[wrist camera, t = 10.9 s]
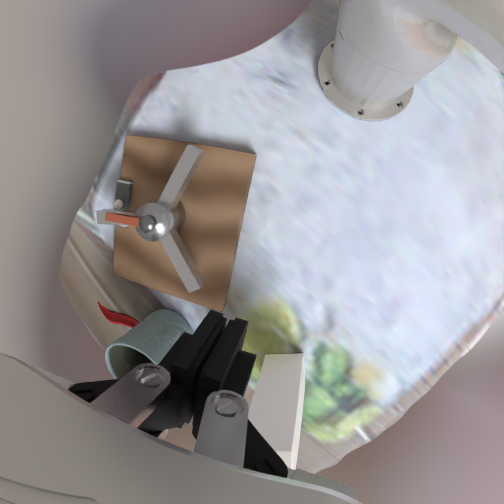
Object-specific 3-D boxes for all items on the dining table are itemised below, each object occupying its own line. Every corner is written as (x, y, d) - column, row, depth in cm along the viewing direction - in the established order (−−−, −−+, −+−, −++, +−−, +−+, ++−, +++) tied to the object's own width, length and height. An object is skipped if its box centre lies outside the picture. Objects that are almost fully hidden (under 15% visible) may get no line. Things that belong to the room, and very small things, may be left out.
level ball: (118, 198, 39) (112, 199, 38) (125, 199, 39) (119, 201, 38) (117, 207, 39) (111, 208, 38) (124, 209, 39) (118, 210, 38)
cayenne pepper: (95, 306, 49) (89, 310, 47) (101, 289, 48) (95, 293, 46) (143, 345, 49) (138, 350, 47) (151, 329, 48) (146, 335, 46)
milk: (265, 353, 44) (227, 469, 23) (304, 352, 42) (287, 473, 22) (269, 382, 45) (238, 493, 24) (306, 381, 44) (291, 497, 23)
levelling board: (132, 135, 38) (126, 134, 37) (256, 154, 36) (254, 154, 34) (118, 271, 45) (113, 274, 44) (224, 306, 43) (221, 311, 41)
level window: (120, 178, 39) (117, 178, 38) (132, 180, 38) (130, 181, 38) (115, 223, 41) (113, 224, 40) (127, 227, 41) (125, 228, 40)
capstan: (109, 209, 40) (80, 217, 34) (206, 142, 35) (184, 138, 29) (157, 300, 43) (136, 320, 36) (263, 253, 37) (253, 270, 31)
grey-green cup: (209, 335, 45) (179, 382, 34) (177, 365, 48) (147, 409, 37) (160, 292, 44) (118, 329, 33) (134, 327, 48) (96, 364, 37)
